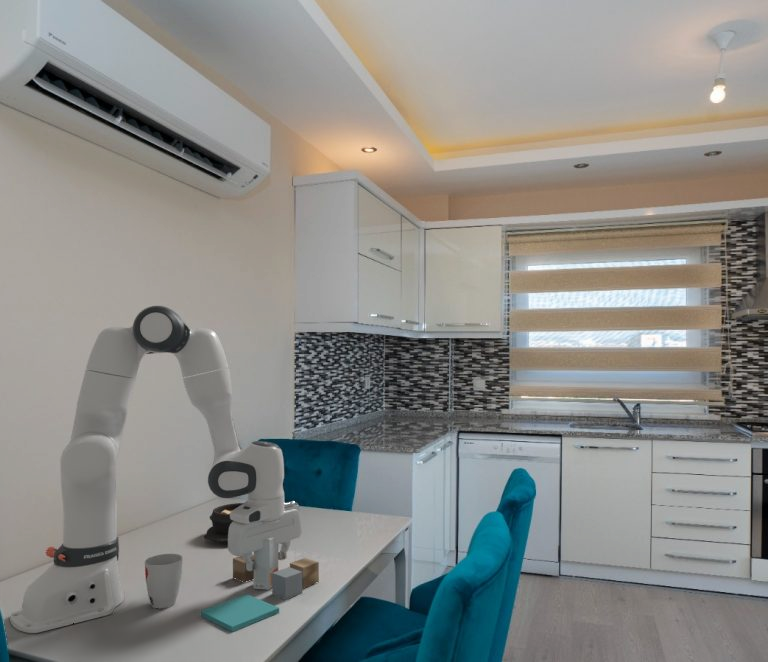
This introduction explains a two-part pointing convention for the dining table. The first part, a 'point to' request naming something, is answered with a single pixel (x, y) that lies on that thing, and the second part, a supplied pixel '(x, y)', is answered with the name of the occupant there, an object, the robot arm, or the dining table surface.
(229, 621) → the teal mat
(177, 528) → the dining table surface
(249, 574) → the walnut block
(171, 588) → the cup
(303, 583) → the light brown wooden cube
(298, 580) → the slate grey block
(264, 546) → the skincare box
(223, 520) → the casserole
